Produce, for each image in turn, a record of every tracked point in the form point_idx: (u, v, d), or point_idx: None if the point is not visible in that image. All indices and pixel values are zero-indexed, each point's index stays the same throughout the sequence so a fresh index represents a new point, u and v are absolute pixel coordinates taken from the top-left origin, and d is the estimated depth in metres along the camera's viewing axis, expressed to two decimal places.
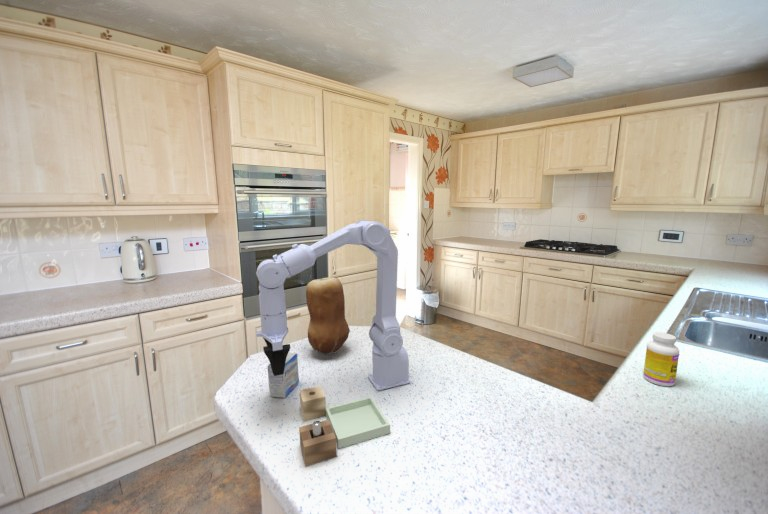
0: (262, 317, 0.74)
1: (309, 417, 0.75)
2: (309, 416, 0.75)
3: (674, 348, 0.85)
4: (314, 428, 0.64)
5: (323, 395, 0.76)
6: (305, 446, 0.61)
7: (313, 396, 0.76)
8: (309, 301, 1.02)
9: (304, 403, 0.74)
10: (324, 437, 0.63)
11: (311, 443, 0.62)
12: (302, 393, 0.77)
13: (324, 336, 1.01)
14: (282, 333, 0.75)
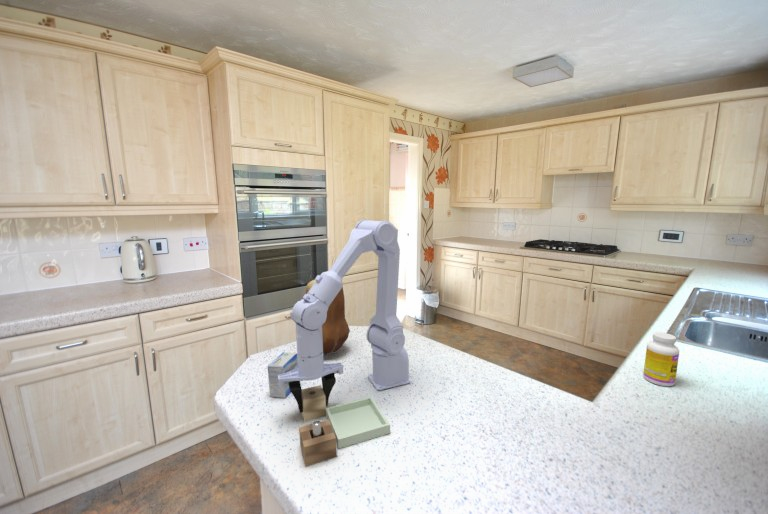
0: None
1: (309, 417, 0.75)
2: (309, 415, 0.75)
3: (674, 348, 0.85)
4: (314, 428, 0.64)
5: (323, 394, 0.76)
6: (305, 446, 0.61)
7: (313, 395, 0.76)
8: None
9: (304, 402, 0.74)
10: (324, 437, 0.63)
11: (311, 443, 0.62)
12: (302, 393, 0.77)
13: (324, 336, 1.01)
14: (300, 376, 0.73)
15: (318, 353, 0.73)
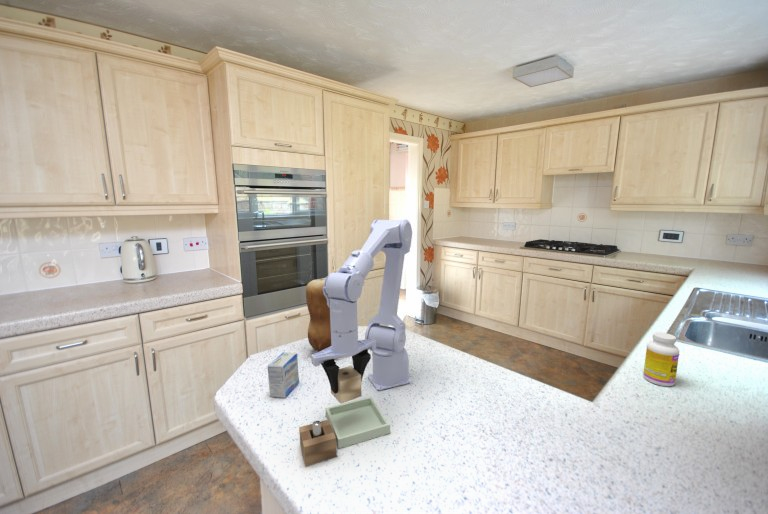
0: None
1: (345, 398, 0.70)
2: (345, 396, 0.70)
3: (674, 348, 0.85)
4: (314, 428, 0.64)
5: (358, 374, 0.72)
6: (305, 446, 0.61)
7: (348, 375, 0.71)
8: (309, 301, 1.02)
9: (341, 383, 0.69)
10: (324, 437, 0.63)
11: (311, 443, 0.62)
12: None
13: (324, 336, 1.01)
14: (336, 353, 0.69)
15: (356, 326, 0.70)
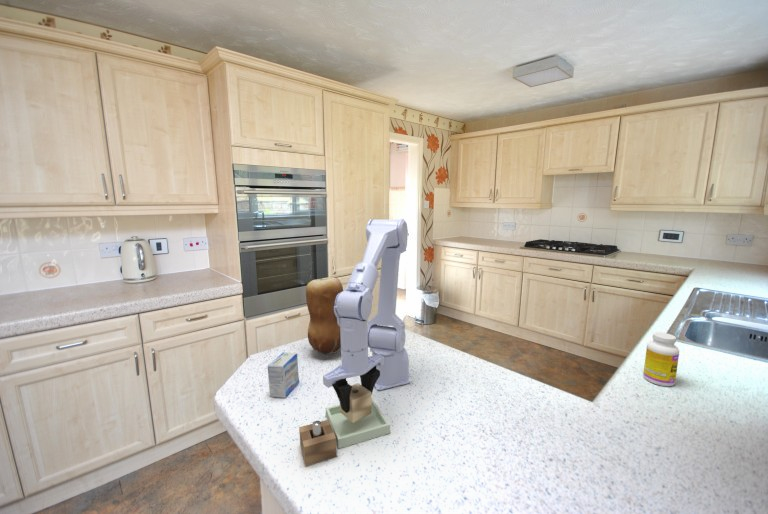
0: None
1: (357, 417, 0.70)
2: (357, 415, 0.70)
3: (674, 348, 0.85)
4: (314, 428, 0.64)
5: (368, 391, 0.72)
6: (305, 446, 0.61)
7: (358, 393, 0.71)
8: (309, 301, 1.02)
9: (353, 402, 0.69)
10: (324, 437, 0.63)
11: (311, 443, 0.62)
12: None
13: (324, 336, 1.01)
14: (348, 373, 0.68)
15: (367, 344, 0.70)
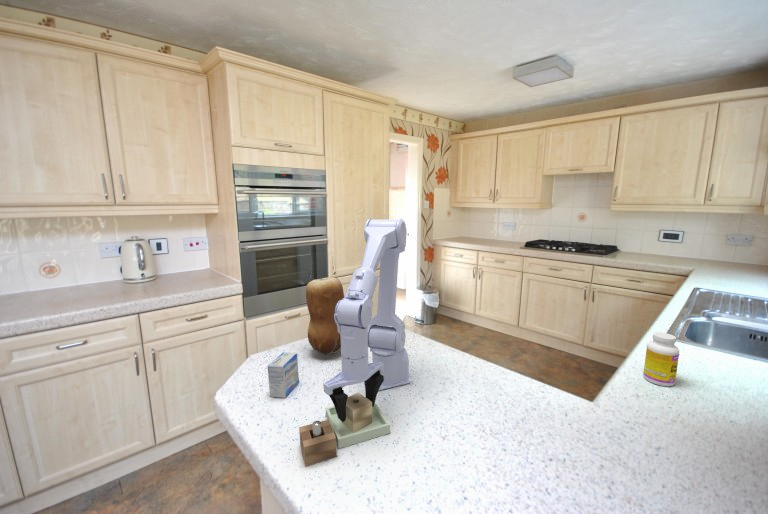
0: None
1: (357, 427, 0.70)
2: (358, 425, 0.70)
3: (674, 348, 0.85)
4: (314, 428, 0.64)
5: (368, 401, 0.72)
6: (305, 446, 0.61)
7: (359, 403, 0.72)
8: (309, 301, 1.02)
9: (354, 412, 0.69)
10: (324, 437, 0.63)
11: (311, 443, 0.62)
12: None
13: (324, 336, 1.01)
14: (349, 380, 0.68)
15: (367, 351, 0.70)
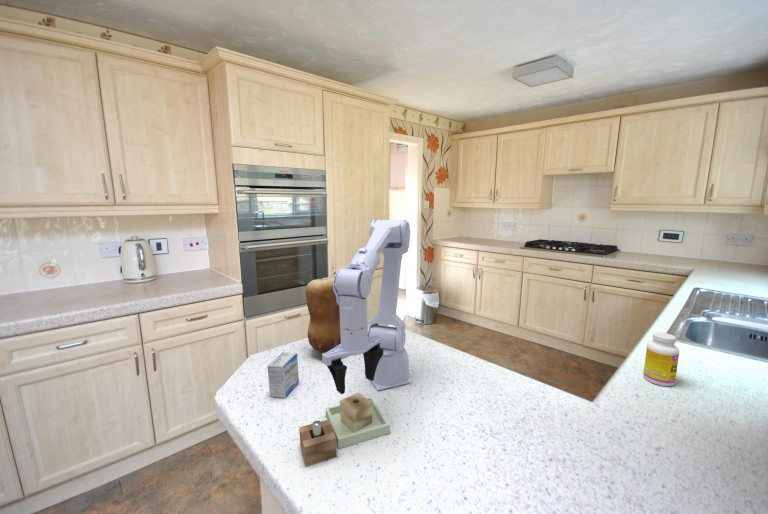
0: None
1: (357, 427, 0.70)
2: (358, 425, 0.70)
3: (674, 348, 0.85)
4: (314, 428, 0.64)
5: (368, 401, 0.72)
6: (305, 446, 0.61)
7: (359, 403, 0.72)
8: (309, 301, 1.02)
9: (354, 412, 0.69)
10: (324, 437, 0.63)
11: (311, 443, 0.62)
12: (345, 403, 0.72)
13: (324, 336, 1.01)
14: (348, 351, 0.67)
15: None
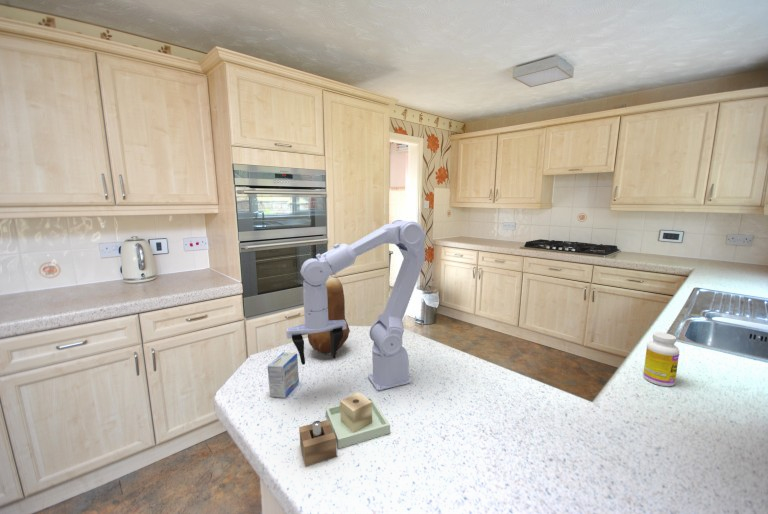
0: None
1: (357, 427, 0.70)
2: (358, 425, 0.70)
3: (674, 348, 0.85)
4: (314, 428, 0.64)
5: (368, 401, 0.72)
6: (305, 446, 0.61)
7: (359, 403, 0.72)
8: None
9: (354, 412, 0.69)
10: (324, 437, 0.63)
11: (311, 443, 0.62)
12: (345, 403, 0.72)
13: (324, 336, 1.01)
14: (307, 329, 0.79)
15: (320, 308, 0.79)
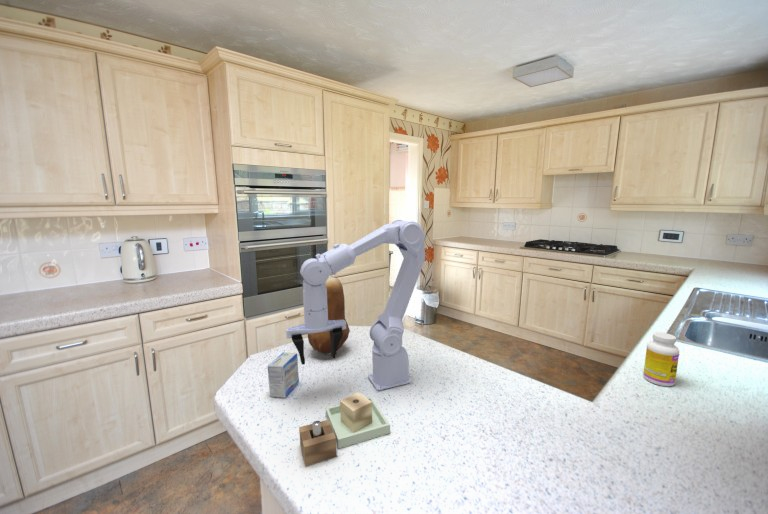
0: None
1: (357, 427, 0.70)
2: (358, 425, 0.70)
3: (674, 348, 0.85)
4: (314, 428, 0.64)
5: (368, 401, 0.72)
6: (305, 446, 0.61)
7: (359, 403, 0.72)
8: None
9: (354, 412, 0.69)
10: (324, 437, 0.63)
11: (311, 443, 0.62)
12: (345, 403, 0.72)
13: (324, 336, 1.01)
14: (307, 329, 0.80)
15: (320, 308, 0.79)
